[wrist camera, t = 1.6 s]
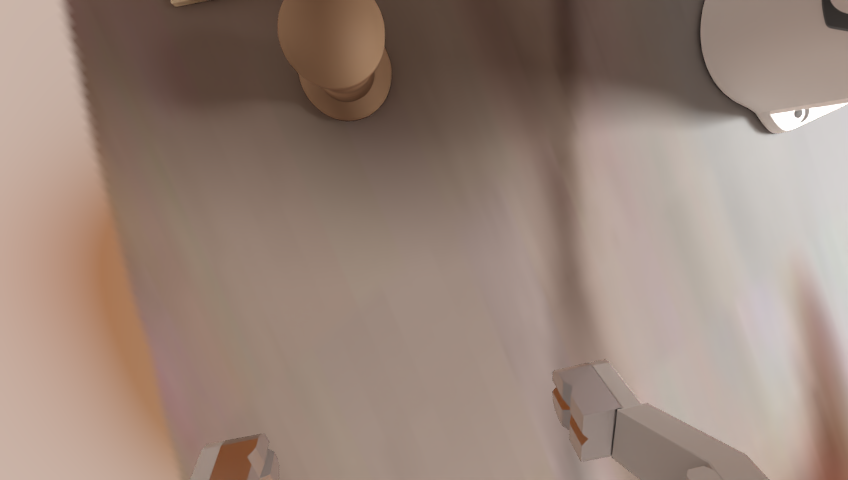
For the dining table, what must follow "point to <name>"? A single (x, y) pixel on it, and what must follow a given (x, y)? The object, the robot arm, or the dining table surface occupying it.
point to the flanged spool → (337, 54)
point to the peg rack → (185, 2)
